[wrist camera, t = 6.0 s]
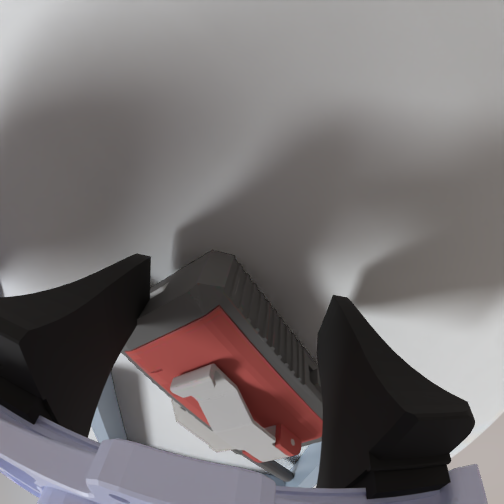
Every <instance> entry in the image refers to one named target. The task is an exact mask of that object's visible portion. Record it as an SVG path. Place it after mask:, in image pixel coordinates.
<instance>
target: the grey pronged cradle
mask: <svg viewBox="0 0 504 504" xmlns="http://www.w3.org/2000/svg"><path fill="white" fill-rule="evenodd" d="M91 426H92V429H93V431H94V433H95V436H96V438H97V440H98V442H99V443H101V442H102V441H103V440H108V439H116V438H120V439H124V440H127V436H126V433H125V429H124V426H123V422H122V418H121V414H120V410H119V406H118V402H117V398H116V393H115V389H114V384H113V380H112V375H111V372H110V374H109V377H108V379H107V382H106V384H105V387H104V389H103V392H102V394H101V397H100V400H99V402H98V405H97V408H96V411H95V414H94V417H93V421H92V424H91ZM321 443H322V441H321V442H318V443H314V444H310V445H309V446H308V448H307V449H306V450H305V452H304V453H303V454H302V456H301V457H300V458H299V460H298V461H297V462H296V463H295V465H294V466H293V467H292V468H291V470H290V471H291V472H292V473H293V475H294V477H293V479H292V480H291V481H289V482H284V481H283V480H281V479H279V478H277V477H276V476H274V475H268V474H263V475H265V476H267V477H269V478H270V479H272V480H273V481H274V482H275V484H276V486H286V487H301V488H313V487H314V486H315V485H316V484H317V480H318V473H319V464H320V455H321Z"/></svg>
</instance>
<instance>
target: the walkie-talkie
mask: <svg viewBox="0 0 504 504" xmlns="http://www.w3.org/2000/svg"><path fill="white" fill-rule="evenodd" d="M270 305H271V304H270V302H269V301H266V300H265V299H264V294H263V293H262V292H259V291H258V289H257V285H256V284H255V283H252V281H251V280H250V276H249V275H248V274H247V273H245V272H244V271H243V270H242V265H241V264H238V263H237V262H236V260H235V256H234V255H230V254H226V253H222V252H218V251H214V250H212V251H210V252H209V253H207V254H205V255H204V256H202V257H200V258H199V259H197V260H195V261H194V262H192V263H190V264H189V265H187V266H185V267H184V268H182V269H181V270H179V271H177V272H176V273H174V274H172V275H171V276H169V277H167V278H166V279H164V280H162V281H161V282H159V283H158V284H156V285H154V286H153V287H151V288H150V300H149V302H148V303H147V305H146V306H145V308H144V310H143V311H142V313H141V314H140V316H139V317H138V319H137V326H136V328H135V330H134V331H133V333H132V335H131V336H130V338H129V339H128V341H127V343H126V344H125V346H124V348H123V349H122V351H121V353H122V354H124V355H125V356H126V357H127V358H128V360H129V361H130V362H132V363H133V364H134V365H135V366H136V367H137V368H138V369H139V370H140V371H142V372H143V373H144V375H145V376H147V377H148V378H149V379H150V380H151V381H152V382H153V383H154V384H156V385H157V386H158V387H159V388H160V389H161V390H162V391H164V392H165V394H166V395H168V396H169V397H170V398H171V399H172V405H173V410H174V414H175V418H176V422H178V423H179V424H180V425H182V426H183V427H184V428H186V429H187V430H188V431H190V432H191V433H192V434H194V435H195V436H196V437H198V438H199V439H200V440H202V441H203V442H205V443H206V444H208V445H209V448H211V449H212V450H214V451H215V452H222V451H228V450H231V451H233V452H234V453H236V454H241V455H242V456H244V457H245V458H247V459H248V460H250V461H251V462H253V463H255V464H256V465H258V466H259V467H261V468H263V469H264V470H266V471H267V472H269V473H271V474H272V475H274V476H276V477H277V478H279V479H281V480H283V481H284V482H289V481H291V480H292V479H293V477H294V475H293V473H292V472H291V471H289V470H288V469H286V468H285V467H283V466H282V465H280V464H279V463H277V462H276V461H274V460H277V459H281V458H286V457H290V456H295V455H298V454H299V453H300V450H301V447H302V446H306V445H310V444H314V443H318V442H321V441H322V423H323V404H322V393H321V384H320V375H319V367H318V365H317V364H316V362H315V361H314V360H313V359H312V357H311V356H310V355H309V353H308V352H307V351H306V350H305V348H304V347H301V345H300V342H299V341H298V340H296V339H295V335H294V334H293V333H291V332H290V331H289V327H288V326H285V325H284V323H283V320H282V318H279V317H278V316H277V312H276V310H274V309H272V308H271V306H270Z"/></svg>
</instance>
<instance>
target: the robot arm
mask: <svg viewBox="0 0 504 504" xmlns="http://www.w3.org/2000/svg"><path fill="white" fill-rule="evenodd" d="M150 263H151V257H150V256H145V255H141V254H134V255H132V256H130V257H127V258H125V259H123V260H121V261H119V262H117V263H115V264H113V265H111V266H109V267H107V268H105V269H103V270H101V271H98V272H96V273H94V274H92V275H89V276H87V277H85V278H82V279H80V280H78V281H75V282H72V283H70V284H66V285H63V286H60V287H57V288H54V289H50V290H46V291H42V292H37V293H33V294H27V295H21V296H14V297H1V298H0V472H1V473H2V474H4V475H5V476H6V477H8V478H9V479H11V480H12V481H13V482H15V483H16V484H18V485H19V486H21V487H22V488H24V489H25V490H27V491H28V492H30V493H32V494H33V495H35V496H36V497H38V498H39V500H38V502H37V504H488V503H487V498H486V495H485V491H484V487H483V483H482V479H481V476H480V472H479V469H478V465H477V464H473V465H468V466H463V467H458V468H455V469H452V470H450V471H448V468H447V465H446V464H449V463H450V462H451V458H450V454H449V453H450V452H451V451H452V450H453V449H455V448H456V447H457V446H458V445H459V444H460V443H461V442H462V441H463V440H464V439H465V438H466V437H467V436H468V435H469V434H470V433H471V431H472V429H473V428H474V425H475V420H474V417H473V414H472V412H471V409H470V407H469V404H468V402H467V401H465V400H463V399H461V398H459V397H457V396H455V395H453V394H451V393H449V392H447V391H445V390H444V389H442V388H440V387H439V386H437V385H436V384H434V383H432V382H431V381H430V380H428V379H427V378H425V377H424V376H422V375H421V374H420V373H419V372H417V371H416V370H415V369H413V368H412V367H411V366H410V365H408V364H407V363H406V362H405V361H404V360H403V359H402V358H401V357H400V356H398V355H397V354H396V353H395V352H394V351H393V350H392V349H391V348H390V347H389V346H388V345H387V344H386V342H385V341H384V340H383V339H382V338H381V337H380V336H379V335H378V334H377V332H376V331H375V330H374V329H373V328H372V327H371V325H370V324H369V323H368V322H367V320H366V319H365V318H364V317H363V315H362V314H361V313H360V312H359V310H358V309H357V308H356V307H355V306H354V304H353V303H352V302H351V301H350V300H349V299H348V298H347V297H341V296H336V295H333V297H332V299H331V302H330V305H329V307H328V310H327V312H326V315H325V317H324V320H323V322H322V325H321V327H320V330H319V332H318V342H317V357H318V367H319V375H320V384H321V393H322V404H323V423H322V443H321V455H320V464H319V473H318V480H317V486H316V488H301V487H286V486H276V484H275V482H274V481H273V480H272V479H270V478H269V477H267V476H265V475H263V474H262V473H260V472H256V471H252V470H248V469H244V468H240V467H235V466H229V465H223V464H218V463H213V462H208V461H203V460H199V459H195V458H190V457H186V456H182V455H178V454H174V453H171V452H167V451H163V450H160V449H156V448H153V447H150V446H147V445H143V444H140V443H137V442H133V441H128V440H124V439H120V438H116V439H108V440H103V441H102V442H101V443H99V442H96V441H94V440H91V439H89V438H88V435H89V431H90V427H91V424H92V421H93V417H94V414H95V411H96V408H97V405H98V402H99V400H100V397H101V394H102V392H103V389H104V387H105V384H106V382H107V379H108V377H109V374H110V372H111V370H112V368H113V365H114V363H115V361H116V360H117V358H118V356H119V354H120V353H121V351H122V349H123V348H124V346H125V344H126V343H127V341H128V339H129V338H130V336H131V335H132V333H133V331H134V330H135V328H136V326H137V319H138V317H139V316H140V314H141V313H142V311H143V310H144V308H145V306H146V305H147V303H148V302H149V300H150Z"/></svg>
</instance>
